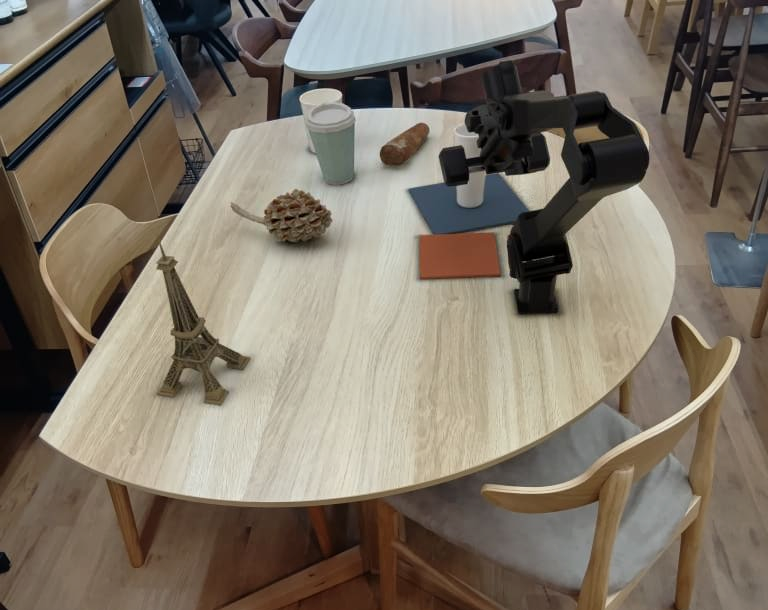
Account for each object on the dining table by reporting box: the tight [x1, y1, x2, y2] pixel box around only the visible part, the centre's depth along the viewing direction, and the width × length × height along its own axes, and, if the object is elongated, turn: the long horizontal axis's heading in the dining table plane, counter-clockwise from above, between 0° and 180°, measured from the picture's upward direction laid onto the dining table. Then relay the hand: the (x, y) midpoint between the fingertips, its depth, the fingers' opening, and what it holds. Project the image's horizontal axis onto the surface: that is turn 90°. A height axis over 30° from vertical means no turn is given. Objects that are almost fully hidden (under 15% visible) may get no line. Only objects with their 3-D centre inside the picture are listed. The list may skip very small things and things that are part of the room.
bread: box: [379, 122, 431, 167], centre depth 153 cm, size 6×19×6 cm, turn 153°
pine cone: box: [229, 188, 333, 243], centre depth 127 cm, size 22×10×10 cm, turn 73°
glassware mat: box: [408, 173, 530, 235], centre depth 135 cm, size 20×20×1 cm
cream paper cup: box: [298, 88, 343, 154], centre depth 156 cm, size 10×10×12 cm
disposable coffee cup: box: [305, 102, 357, 186], centre depth 142 cm, size 11×11×15 cm
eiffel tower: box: [155, 231, 251, 406], centre depth 93 cm, size 11×11×25 cm
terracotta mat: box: [419, 231, 501, 280], centre depth 122 cm, size 14×14×1 cm
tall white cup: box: [452, 123, 486, 208], centre depth 130 cm, size 7×7×15 cm
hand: (482, 176), depth 123 cm, fingers open, 9 cm apart
